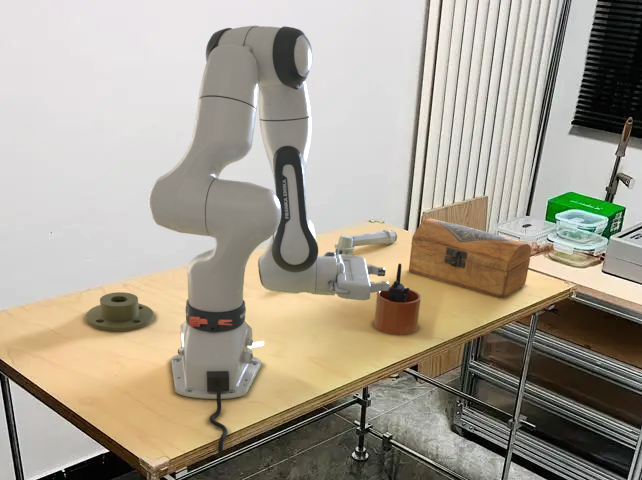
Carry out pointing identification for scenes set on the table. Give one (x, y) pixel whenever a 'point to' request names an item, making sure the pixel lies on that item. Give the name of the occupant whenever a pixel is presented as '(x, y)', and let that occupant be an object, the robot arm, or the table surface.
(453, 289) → the table surface
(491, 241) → the wooden box
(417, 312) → the brown round pot
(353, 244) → the toothbrush head
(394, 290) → the two-way radio
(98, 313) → the flange
